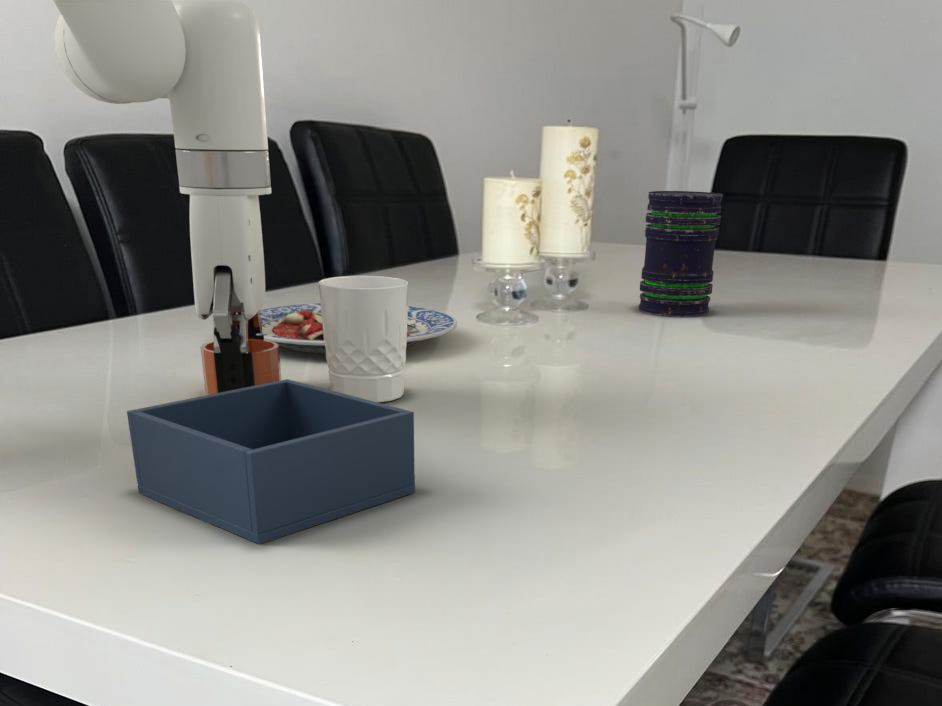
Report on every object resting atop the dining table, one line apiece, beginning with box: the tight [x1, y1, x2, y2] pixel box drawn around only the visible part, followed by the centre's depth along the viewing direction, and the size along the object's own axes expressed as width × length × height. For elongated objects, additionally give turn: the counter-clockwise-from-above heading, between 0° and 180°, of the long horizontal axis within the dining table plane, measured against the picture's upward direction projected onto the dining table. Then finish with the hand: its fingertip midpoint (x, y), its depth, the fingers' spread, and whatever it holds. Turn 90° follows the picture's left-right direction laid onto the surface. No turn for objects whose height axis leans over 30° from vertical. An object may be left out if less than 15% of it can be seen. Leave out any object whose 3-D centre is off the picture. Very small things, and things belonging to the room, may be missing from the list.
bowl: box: [200, 339, 282, 395], centre depth 91 cm, size 7×7×4 cm
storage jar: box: [638, 190, 724, 318], centre depth 135 cm, size 10×10×15 cm
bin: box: [126, 378, 416, 545], centre depth 66 cm, size 13×13×6 cm
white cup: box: [318, 275, 409, 403], centre depth 90 cm, size 8×8×10 cm
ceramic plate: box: [256, 302, 458, 355], centre depth 115 cm, size 26×26×3 cm
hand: (243, 386), depth 91 cm, fingers closed on bowl, 6 cm apart
